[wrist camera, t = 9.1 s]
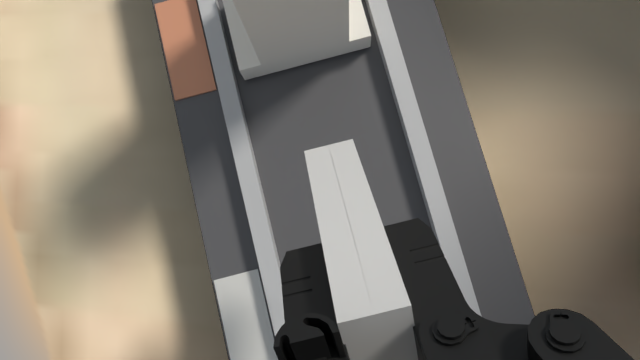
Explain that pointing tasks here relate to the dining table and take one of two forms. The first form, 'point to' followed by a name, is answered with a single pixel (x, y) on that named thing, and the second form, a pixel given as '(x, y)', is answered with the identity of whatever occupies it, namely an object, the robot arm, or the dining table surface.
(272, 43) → the tab
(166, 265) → the dining table surface
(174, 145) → the dining table surface
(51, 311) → the dining table surface
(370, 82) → the switch board
